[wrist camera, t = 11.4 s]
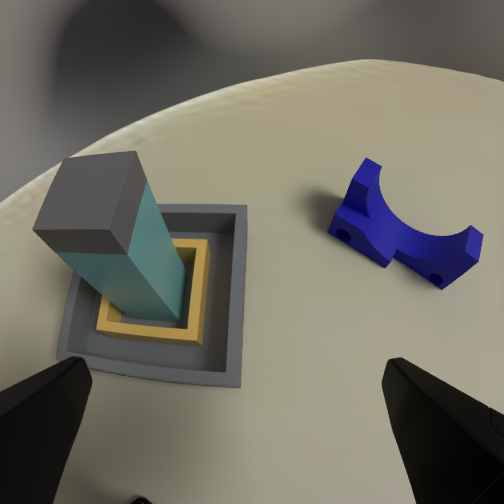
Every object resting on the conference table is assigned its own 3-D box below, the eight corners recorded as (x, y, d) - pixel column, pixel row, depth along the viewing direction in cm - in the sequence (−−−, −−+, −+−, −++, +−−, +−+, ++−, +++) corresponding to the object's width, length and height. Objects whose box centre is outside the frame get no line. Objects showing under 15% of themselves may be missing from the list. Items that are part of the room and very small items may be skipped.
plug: (181, 322, 22) (109, 229, 10) (131, 318, 22) (32, 229, 10) (187, 273, 23) (135, 150, 12) (139, 271, 23) (64, 158, 12)
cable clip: (326, 233, 26) (344, 190, 21) (348, 201, 28) (365, 157, 23) (436, 303, 23) (475, 276, 18) (448, 266, 25) (483, 234, 19)
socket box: (240, 388, 20) (238, 386, 17) (79, 366, 20) (56, 359, 17) (247, 229, 26) (247, 205, 23) (108, 227, 26) (94, 205, 23)
